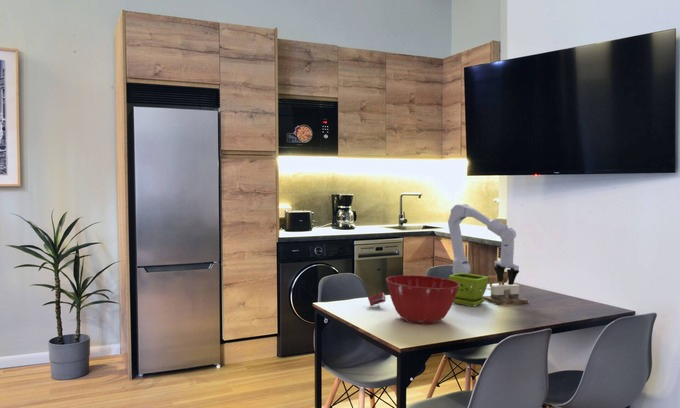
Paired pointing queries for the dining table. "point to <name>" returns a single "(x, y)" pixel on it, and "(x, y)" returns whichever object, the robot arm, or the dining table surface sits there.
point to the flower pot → (469, 288)
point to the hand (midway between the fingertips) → (505, 283)
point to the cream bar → (500, 288)
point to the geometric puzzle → (377, 298)
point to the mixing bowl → (422, 297)
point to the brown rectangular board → (505, 299)
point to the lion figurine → (495, 280)
